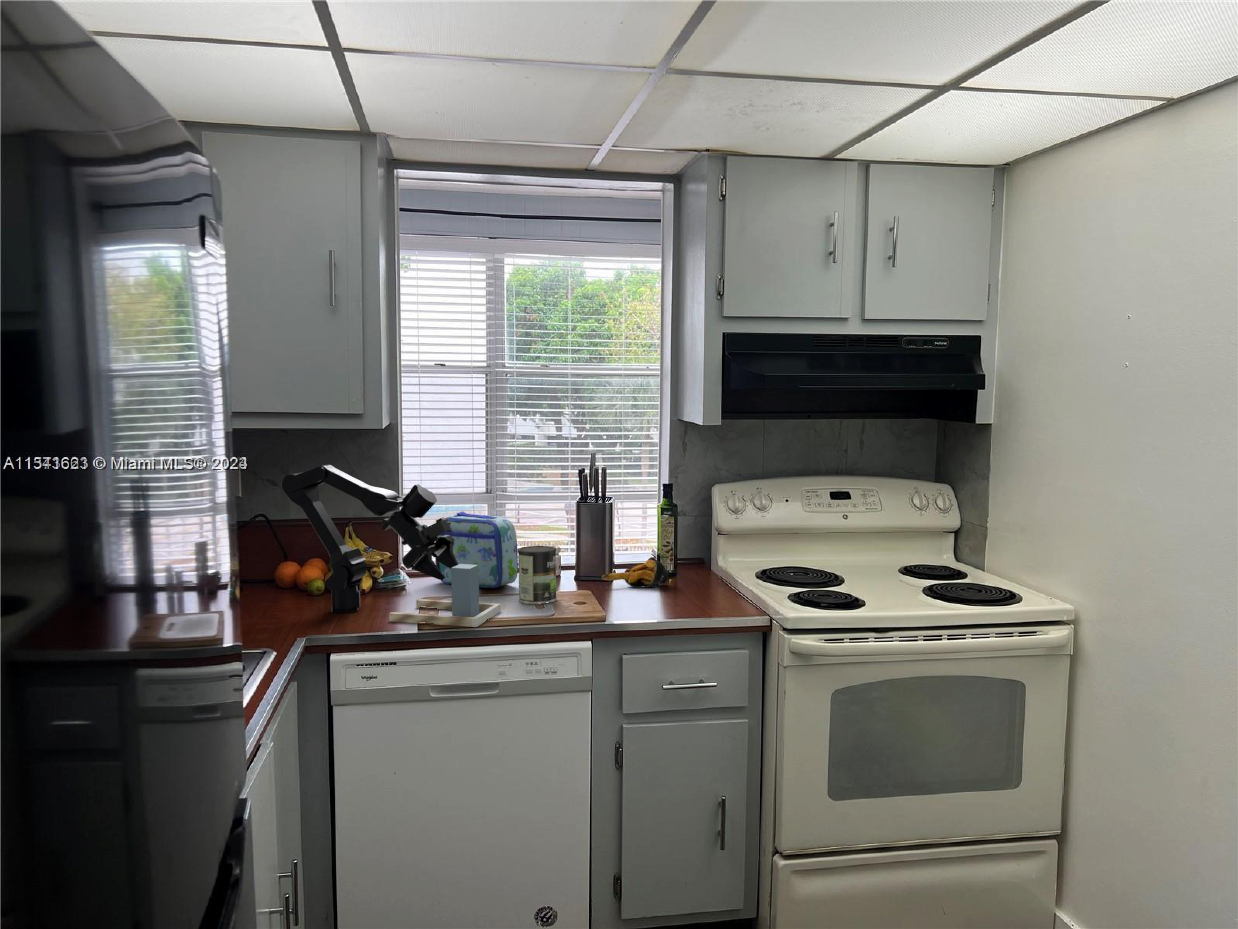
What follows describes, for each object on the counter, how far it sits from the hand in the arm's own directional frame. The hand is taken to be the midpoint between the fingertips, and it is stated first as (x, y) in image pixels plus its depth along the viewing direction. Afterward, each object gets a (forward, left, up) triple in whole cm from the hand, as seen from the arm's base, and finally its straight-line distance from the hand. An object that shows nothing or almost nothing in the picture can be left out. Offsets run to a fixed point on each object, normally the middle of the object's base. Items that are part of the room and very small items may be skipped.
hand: (451, 575), depth 218 cm
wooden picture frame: (-2, +1, -11) cm, 11 cm away
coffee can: (+23, +12, -11) cm, 28 cm away
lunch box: (+8, +36, -11) cm, 39 cm away
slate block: (+3, -2, -11) cm, 11 cm away
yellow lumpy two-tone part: (+53, +21, -11) cm, 58 cm away
